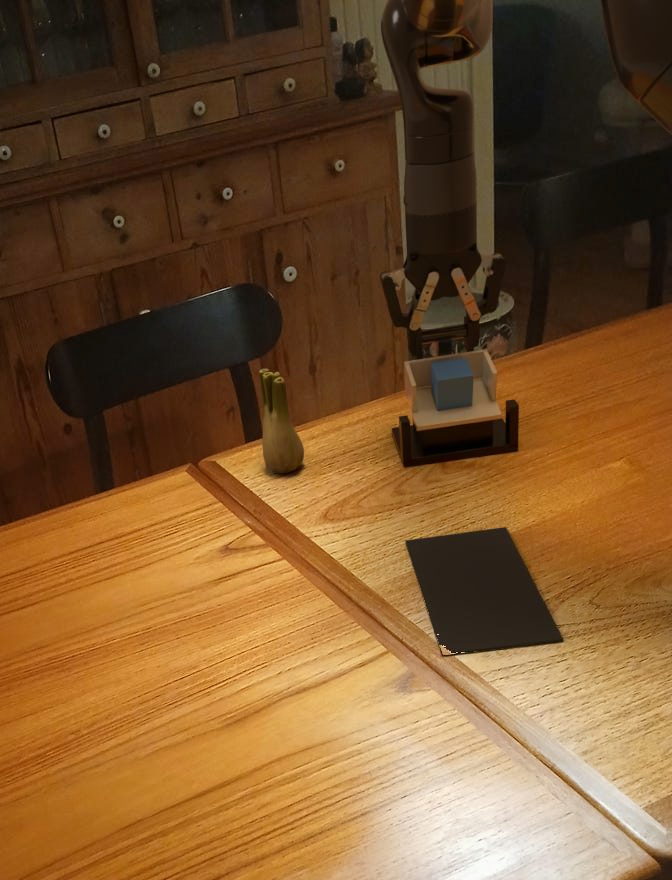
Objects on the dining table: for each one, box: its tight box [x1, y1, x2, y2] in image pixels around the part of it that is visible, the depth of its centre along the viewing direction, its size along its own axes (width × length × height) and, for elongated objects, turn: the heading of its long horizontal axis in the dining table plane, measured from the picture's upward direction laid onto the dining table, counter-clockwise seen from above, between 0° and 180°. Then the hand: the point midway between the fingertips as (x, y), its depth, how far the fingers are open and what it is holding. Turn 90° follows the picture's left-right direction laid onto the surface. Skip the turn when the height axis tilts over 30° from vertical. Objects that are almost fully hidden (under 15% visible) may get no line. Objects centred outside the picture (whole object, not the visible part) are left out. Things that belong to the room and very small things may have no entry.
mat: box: [404, 526, 564, 654], centre depth 91 cm, size 10×20×1 cm, turn 179°
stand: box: [390, 399, 520, 468], centre depth 116 cm, size 13×10×6 cm
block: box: [431, 358, 474, 411], centre depth 113 cm, size 4×4×4 cm
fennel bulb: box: [258, 368, 305, 474], centre depth 116 cm, size 6×5×12 cm
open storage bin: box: [403, 322, 503, 431], centre depth 113 cm, size 10×11×7 cm
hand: (443, 353), depth 116 cm, fingers closed on open storage bin, 5 cm apart
